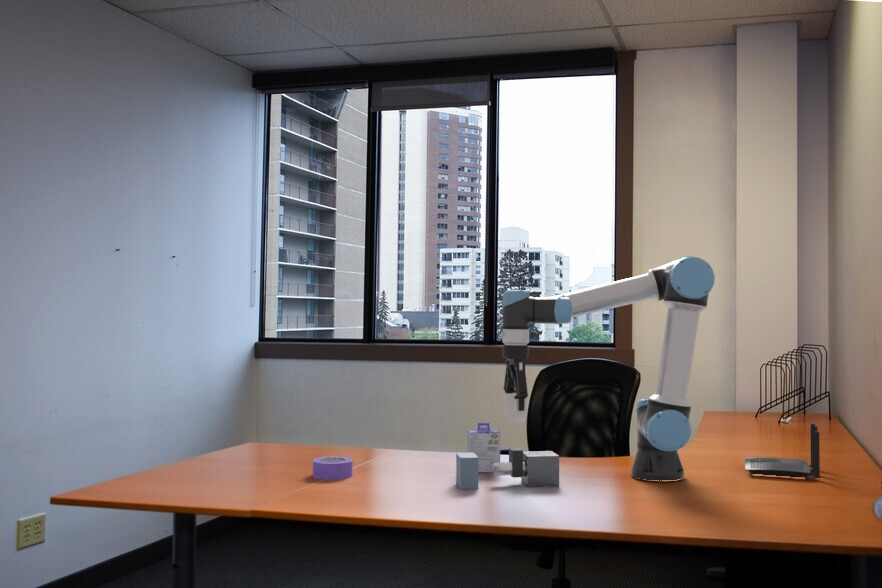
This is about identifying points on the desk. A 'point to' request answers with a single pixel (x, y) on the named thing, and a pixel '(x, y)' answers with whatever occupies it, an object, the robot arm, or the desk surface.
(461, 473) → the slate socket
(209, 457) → the desk surface
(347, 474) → the tape roll
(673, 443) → the robot arm
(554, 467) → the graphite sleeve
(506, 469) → the metal rod with block
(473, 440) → the ink cartridge box
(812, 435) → the router
